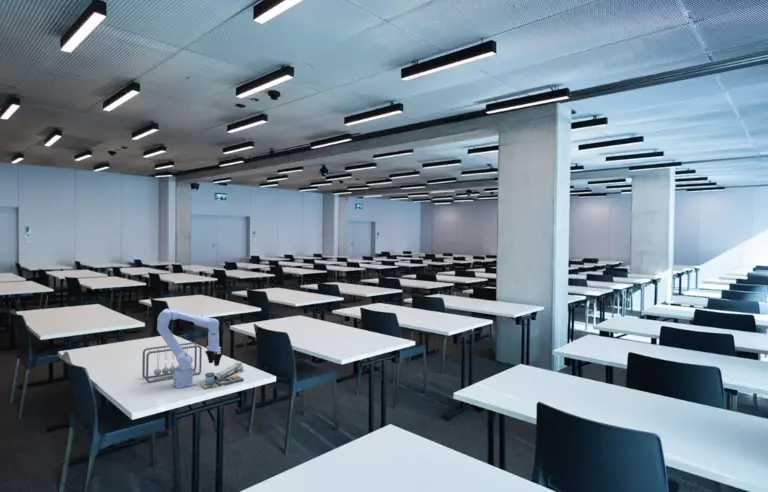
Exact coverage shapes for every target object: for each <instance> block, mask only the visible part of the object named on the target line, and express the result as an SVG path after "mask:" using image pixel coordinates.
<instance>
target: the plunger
mask: <svg viewBox="0 0 768 492" xmlns="http://www.w3.org/2000/svg"><path fill="white" fill-rule="evenodd" d="M238 376H239V375H238V373H237V374H236V373H233V374H232V375H231V377H232V379H233V380H234V379H238Z"/></svg>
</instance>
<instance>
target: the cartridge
mask: <svg viewBox="0 0 768 492" xmlns="http://www.w3.org/2000/svg"><path fill="white" fill-rule="evenodd" d="M214 375H216V374H215V372H212V371H211V372H210V371H209V372H206V373H205V374H204V377H205V383H206V386H212V385H214Z"/></svg>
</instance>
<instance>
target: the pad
mask: <svg viewBox="0 0 768 492" xmlns="http://www.w3.org/2000/svg"><path fill="white" fill-rule="evenodd" d="M217 386H218V387H219V385H218V384H216V383H214V385H212V386H206V382H205V383H201V384H200V387H201V388H202V389H204V390H210V389H214V388H218V387H217ZM213 387H214V388H213ZM209 388H210V389H209Z"/></svg>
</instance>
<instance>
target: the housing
mask: <svg viewBox="0 0 768 492" xmlns="http://www.w3.org/2000/svg"><path fill="white" fill-rule="evenodd" d="M222 381H224V382H222ZM244 381H245V378H243V377H241V376H240V375H238V379H234V380H233V379H232V376H229V377H227V376H226V377H223V378H222V379H218V380H214V383H216V384H218V387H223V386H222V385H225V386H228V384H229V385H232V384H238V383H242V382H244Z"/></svg>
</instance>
